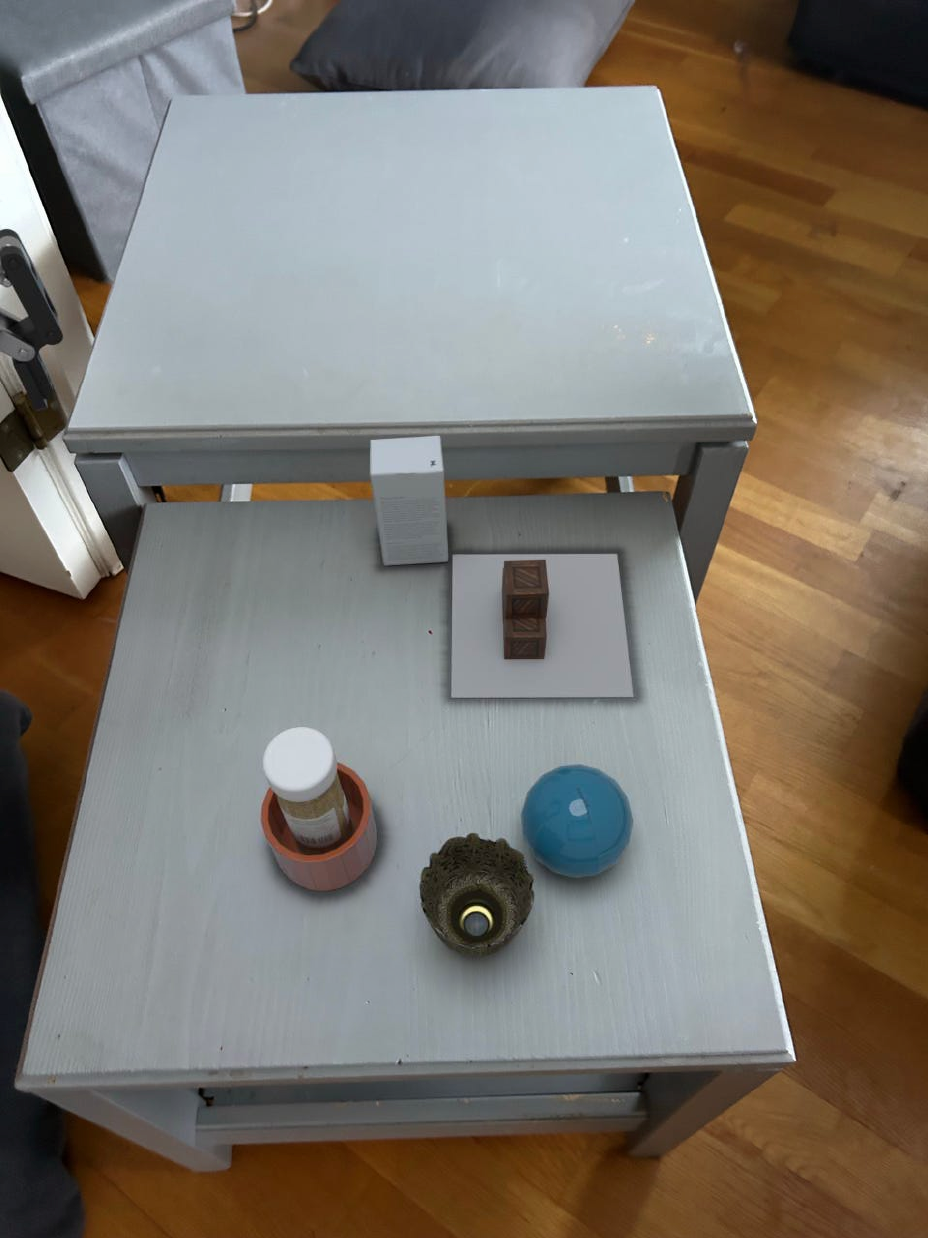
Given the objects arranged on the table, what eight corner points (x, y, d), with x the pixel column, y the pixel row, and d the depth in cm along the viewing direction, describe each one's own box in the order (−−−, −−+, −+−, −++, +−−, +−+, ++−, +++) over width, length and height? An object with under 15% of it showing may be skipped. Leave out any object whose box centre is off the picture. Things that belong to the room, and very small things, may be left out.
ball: (601, 779, 74) (613, 731, 67) (642, 875, 69) (660, 833, 63) (503, 808, 72) (506, 762, 66) (539, 908, 68) (547, 869, 61)
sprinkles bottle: (363, 816, 71) (344, 733, 60) (343, 873, 69) (319, 797, 58) (307, 802, 72) (277, 717, 61) (285, 857, 70) (249, 780, 59)
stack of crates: (633, 697, 78) (646, 652, 72) (451, 698, 78) (449, 653, 72) (617, 554, 86) (627, 504, 81) (452, 554, 86) (451, 504, 81)
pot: (292, 907, 68) (278, 878, 63) (264, 815, 72) (248, 782, 67) (391, 868, 70) (385, 837, 65) (358, 780, 74) (350, 745, 69)
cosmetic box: (446, 527, 88) (442, 433, 78) (448, 563, 86) (445, 471, 76) (381, 530, 88) (369, 437, 78) (381, 567, 86) (369, 475, 76)
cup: (412, 963, 66) (405, 929, 59) (438, 863, 70) (435, 821, 63) (516, 990, 65) (521, 958, 58) (537, 887, 69) (544, 846, 62)
